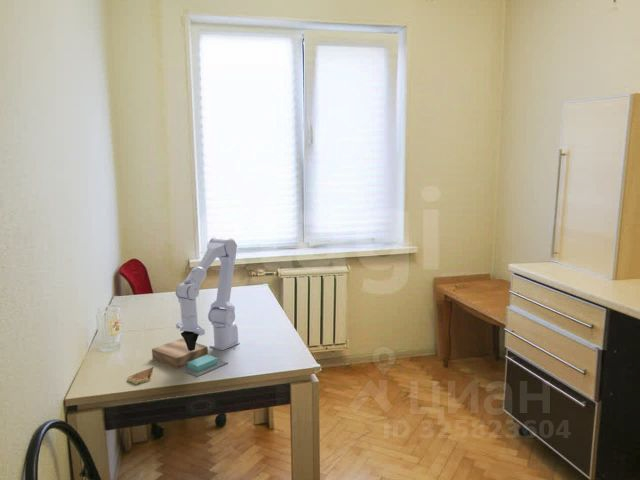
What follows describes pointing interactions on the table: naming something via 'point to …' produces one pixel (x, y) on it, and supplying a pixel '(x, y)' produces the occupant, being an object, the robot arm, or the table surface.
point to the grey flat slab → (198, 373)
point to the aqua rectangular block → (202, 362)
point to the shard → (141, 376)
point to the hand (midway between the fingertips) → (191, 349)
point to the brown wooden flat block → (178, 353)
